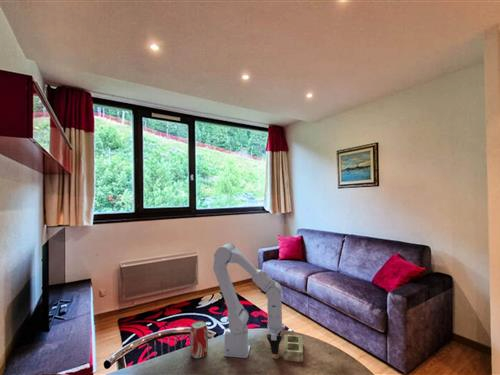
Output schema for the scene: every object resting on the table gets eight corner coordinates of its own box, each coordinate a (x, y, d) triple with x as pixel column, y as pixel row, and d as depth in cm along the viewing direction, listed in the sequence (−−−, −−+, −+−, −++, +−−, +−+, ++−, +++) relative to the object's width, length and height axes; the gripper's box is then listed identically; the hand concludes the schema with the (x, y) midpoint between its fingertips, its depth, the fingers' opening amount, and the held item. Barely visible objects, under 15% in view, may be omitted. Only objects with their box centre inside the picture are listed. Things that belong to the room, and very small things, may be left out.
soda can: (204, 361, 97) (203, 329, 98) (187, 359, 99) (187, 328, 99) (210, 350, 104) (210, 320, 105) (194, 348, 106) (194, 319, 106)
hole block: (283, 360, 97) (283, 351, 97) (284, 342, 109) (284, 334, 109) (303, 362, 96) (303, 352, 96) (302, 344, 107) (301, 335, 108)
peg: (271, 358, 98) (271, 337, 98) (272, 353, 101) (271, 333, 101) (279, 359, 98) (278, 338, 98) (279, 354, 101) (279, 334, 101)
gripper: (284, 323, 92) (285, 361, 92) (285, 306, 107) (285, 339, 106) (265, 322, 93) (266, 359, 93) (268, 306, 108) (269, 338, 107)
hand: (275, 348), depth 99 cm, fingers open, 6 cm apart
